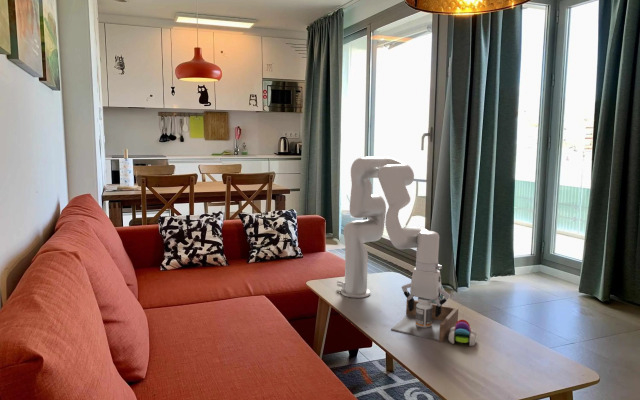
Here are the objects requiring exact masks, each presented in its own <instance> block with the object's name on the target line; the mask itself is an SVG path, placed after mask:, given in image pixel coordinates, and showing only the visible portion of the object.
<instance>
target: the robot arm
mask: <svg viewBox="0 0 640 400" xmlns="http://www.w3.org/2000/svg"><path fill="white" fill-rule="evenodd" d="M371 179H378V181H379V183H380V186H381V189H382V191H383V194H384V197H385V198H384V197H382V196H381V195H379V194H372V190H373V186H372V185H373V184H372V182H371ZM414 179H415V174H414V171H413V169H412V168H411V166H410V165H408V164H407V163H405V162H403V161H401V160H398V159H396V158H394V157H390V156H362V157H361V156H360V157H358V158H356V159H354V161H353V162H352V164H351V166H350V181H351V189H350V197H349V200H350V201H349V213H350V214H349V215H350V216H351V217H353V218H355V219H359V220H352V221H349V222H347V223H346V224H345V225H344V227H343V238H344V243H345V244H344V245H345V250H344V252H345V255H344V256H345V258H344V259H345V261H344V281H342V280H337V282H336V286H337V287H341V289H340V294H341V295H342V296H344V297H346V298H352V299H355V298H356V299H357V298H358V299H361V298H367V297H369V296H370V295H371V290H370V289H368V288H367V287H368V266H369V265H368V263H369V256H368V255H369V254H368V250H367V248H366V246H365V243H370V242H372V243H373V242H377V241H380V240H381V238H382V237H383V235H384V230H386V233H387V236H388V238H389V240H390V242H391V244H392V246H393V247H394V248H395V249H398V250H406V249H416V255H415V267H414V268H413V271H412V275H411V281H410V283H407V284H403V285H402V286H401V290H402V291H403V295H404V296H405V298H406V301H407V300H408V308H409V311H412V310H413V309H414V300H415V298H418V297H420V298H425V299H430V300H434V301H435V302H436V304H437V306H436V311H435V316H436V317H438V316H439V315H440V314H441V308H442V305H444V304H446V302H447V301H448V299H450V297H451V293H449V292H447V291H446V290H445V289H444V288H443V289H444V290H443V289H442V288H441V285H442V279H441V278H442V276H441V271H440V270H442V268H443V265H442V264H439V249H440V234H439V233H438V232H436V231H433V230H428V229H427V228H425V227H422V226H409V227H402V226H401V223H400V220H399V212H400V210H401V209H403V208H405V207H406V206H407V205H409V203H410V202H411V195H410V194H409V191H408V189H407V186H411V185H412V184H413V182H414ZM385 199H386V201H385ZM386 202H387V204H388V209H387V206H386ZM386 210H387V211H386ZM364 218H365V219H364ZM366 218H367V219H366ZM408 289H410V290H409V291H408ZM441 294H442V295H444V296H443V300H441V298H440V296H441ZM414 297H415V298H414Z"/></svg>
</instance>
